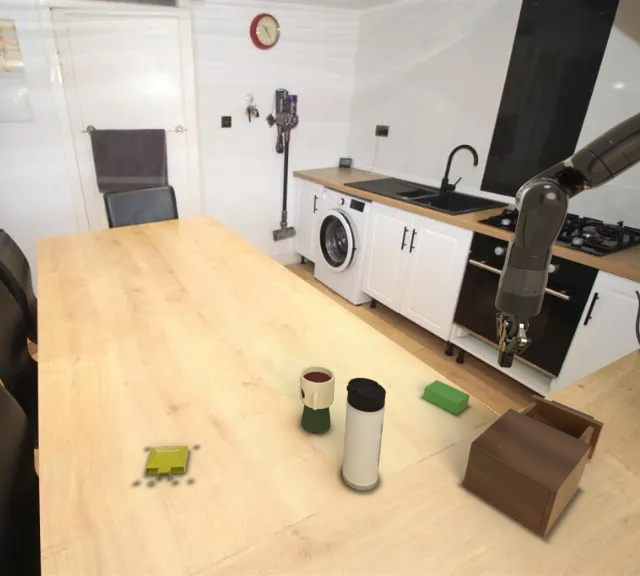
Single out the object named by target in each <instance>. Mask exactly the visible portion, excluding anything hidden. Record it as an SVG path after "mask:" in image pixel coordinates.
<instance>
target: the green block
mask: <svg viewBox="0 0 640 576" xmlns="http://www.w3.org/2000/svg"><path fill="white" fill-rule="evenodd" d="M470 395H471V394H469V393H466V392H464V391H462V390H460V389H458V388H455V387H453V386H451V385H449V384H447V383H444V382H442V381H440V380H438V379H435V380H434V381H433V382H431V383H430V384H428V385H426V386H425V387H424V391H423V399H424V400H426V401H427V402H429V403H431V404H434V405H436V406H438V407H440V408H442V409H443V410H446V411H447V412H450V413H452V414H454V415H455V416H456V415H458V414H459V413H461V412H462V411H463V410H465V409H466V408H467V407H468V406H469V401H470V397H471V396H470Z"/></svg>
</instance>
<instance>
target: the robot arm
mask: <svg viewBox="0 0 640 576" xmlns="http://www.w3.org/2000/svg"><path fill="white" fill-rule="evenodd" d="M638 164H640V111H639V112H637V113H635V114H634V115H632V116H630V117H628V118H626V119H624V120H623V121H621V122H619V123H617V124H616V125H615V126H613V127H611V128H610V129H608V130H607V131H605V132H603V133H602V134H600V135H599V136H597V137H596V138H595V139H593V140H592V141H590V142H589V143H587V144H585V145H584V146H583V147H582V148H580V149H579V150H577V151H576V152H575V153H574V154H572V155H571V156H569V157H567V158H566V159H564V160H562V161H560V162H558V163H556V164H554V165H552V166H551V167H549V168H548V169H545V170H543V171H541V172H540V173H538V174H537V175H535V176H534V177H532V178H530V179H529V180H528V181H526V182H525V183H524V184H522V185H521V187H520V188H519V189H518V190H517V192H516V194H515V197H514V205H515V208H516V210H517V211H518V217H517V222H516V226H515V229H514V230H515V231H514V234H512V236H510V239H509V241H508V245H507V249H506V254H505V259H504V263H503V267H502V269H501V273H500V277H499V281H498V287H497V291H496V296H495V302H494V306H495V308H496V309H497V310H498V311H500V312H496V314H495V322H496V324H495V325H496V340H497V341H498V342H499V343H498V347H499V353H498V357H497V364H498V365H499V367H501V368H506V369H510V368H512V366H513V362H514V359H515V357H514V356H515V355H521V354H522V353H524V351H525V350H527V348H528V347H529V346H530V345H532V337H527V335H526V332H527V331H528V329H529V319H530V318H532V317H535V316H537V315H539V314H540V313H541V308H542V304H543V301H544V298H545V297H544V296H545V292H546V288H547V283H548V279H549V269H550V264H551V261H552V256H553V253H554V246H555V243H556V240H557V239H558V236H559V234H560V232H561V230H562V227H563V226H564V223H565V220H566V218H567V215H568V211H569V205H570V200H571V199H573V198H574V197H576V196H578V195H580V194H581V193H583V192H586V191H588V190H593V189H597V188H600V187H603V186H605V185H606V184H608V183H610V182H611V181H612V180H615V179H616V178H618V177H619V176H621V175H622V174H624V173H626V172H627V171H629V170H631V169H633V168H634V167H635V166H637V165H638ZM635 295H636V297H637V301H638V307H637V314H636V320H635V336H636V339H637V343H638V345H639V346H640V292H639V290H635Z"/></svg>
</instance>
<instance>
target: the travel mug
mask: <svg viewBox="0 0 640 576" xmlns="http://www.w3.org/2000/svg"><path fill="white" fill-rule="evenodd" d="M346 391H347V395H346V403H345V404H346V406H345V420H344V421H345V422H344V424H345V425H344V438H343V439H344V440H343V454H342V455H343V457H342V471H341V474H342V475H341V476H342V479H343V481H344V482H345V483H346V485H348V486H349V488H352V489H354V490H357V491H369V490H372V489H373V488H374V487H376V485H377V483H378V479H379V471H380V458H381V450H382V449H381V448H382V439H383V431H384V430H383V428H384V421H385V420H384V417H385V409H386V396H387V395H386V394H387V390H386V389H385V388H384V387H383V386H382V385H381V384H379V382H378V381H376V380H374V379H371V378H367V377H354V378H351V379H350V380H349V381H348V383H347V385H346Z"/></svg>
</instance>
